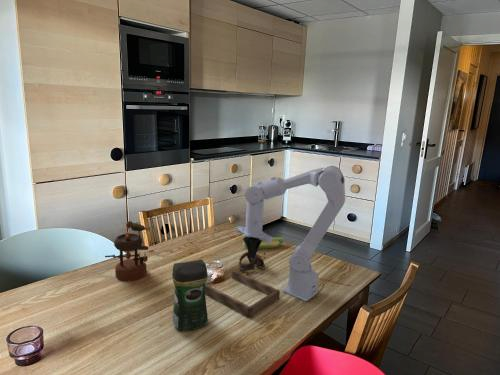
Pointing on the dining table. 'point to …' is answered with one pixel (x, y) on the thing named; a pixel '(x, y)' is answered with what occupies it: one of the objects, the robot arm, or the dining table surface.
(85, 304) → the dining table surface
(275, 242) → the edible corn
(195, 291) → the coffee jar
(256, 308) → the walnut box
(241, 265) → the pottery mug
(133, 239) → the music box
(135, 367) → the dining table surface
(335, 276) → the dining table surface
